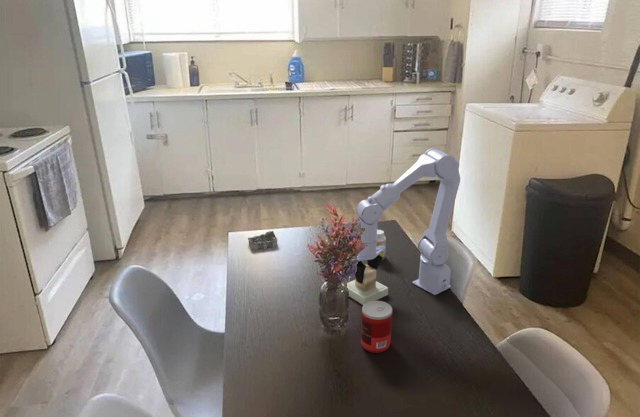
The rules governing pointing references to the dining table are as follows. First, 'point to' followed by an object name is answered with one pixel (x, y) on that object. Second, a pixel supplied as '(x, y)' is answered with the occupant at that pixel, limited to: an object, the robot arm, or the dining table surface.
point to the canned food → (376, 326)
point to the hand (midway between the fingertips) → (365, 279)
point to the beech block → (367, 279)
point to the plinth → (366, 292)
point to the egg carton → (265, 243)
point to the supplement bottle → (381, 240)
